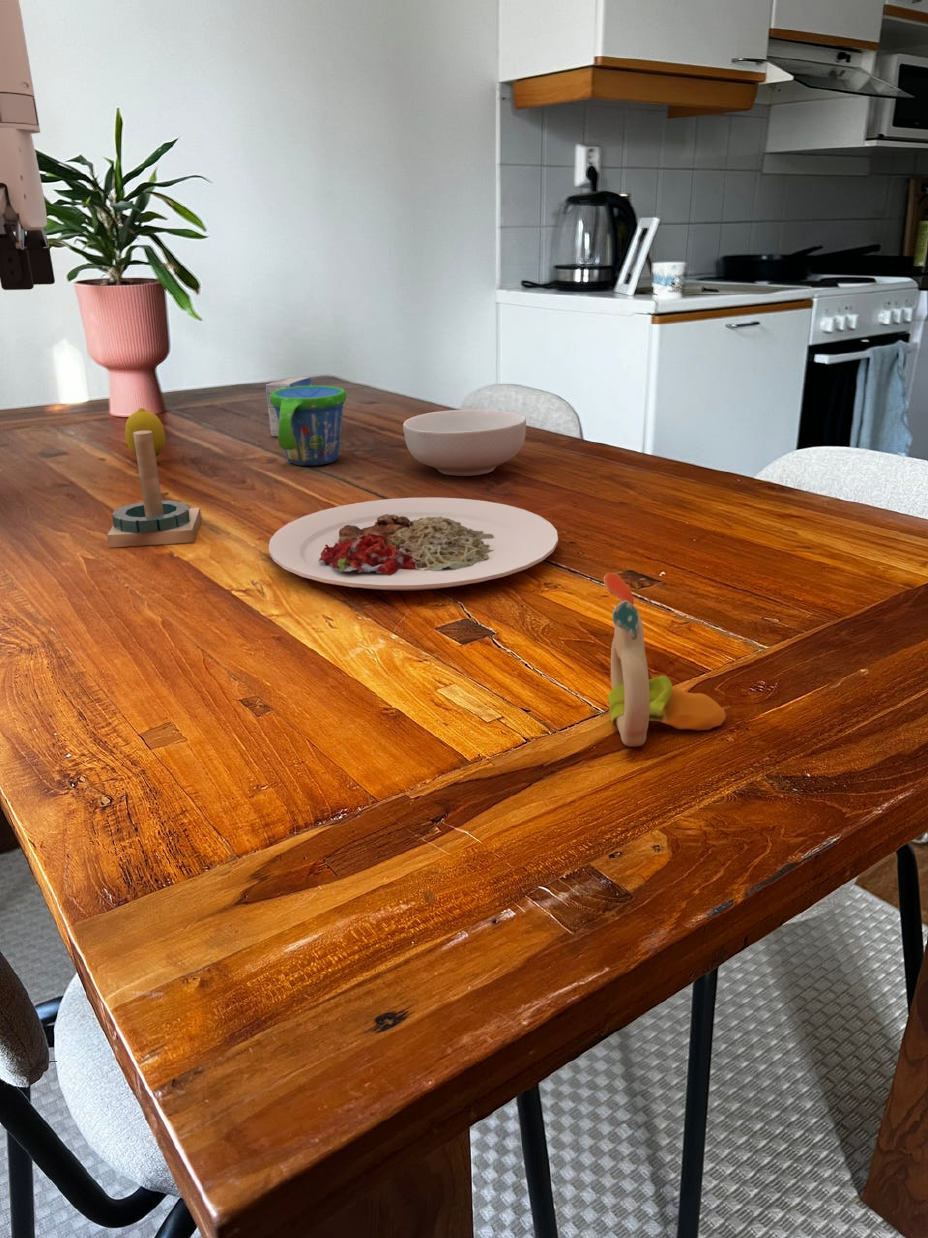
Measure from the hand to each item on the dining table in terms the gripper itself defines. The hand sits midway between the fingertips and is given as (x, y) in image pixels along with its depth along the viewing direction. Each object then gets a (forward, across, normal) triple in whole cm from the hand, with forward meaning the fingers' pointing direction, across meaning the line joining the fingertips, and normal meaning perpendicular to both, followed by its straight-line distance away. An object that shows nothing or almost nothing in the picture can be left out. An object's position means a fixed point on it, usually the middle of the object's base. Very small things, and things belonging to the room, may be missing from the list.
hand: (29, 286), depth 109 cm
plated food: (+26, +25, +40) cm, 54 cm away
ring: (+25, +13, +12) cm, 30 cm away
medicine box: (+26, -42, +27) cm, 57 cm away
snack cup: (+26, -20, +30) cm, 45 cm away
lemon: (+26, -25, +6) cm, 37 cm away
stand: (+26, +12, +12) cm, 31 cm away
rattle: (+26, +67, +52) cm, 89 cm away
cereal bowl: (+26, -10, +51) cm, 58 cm away
